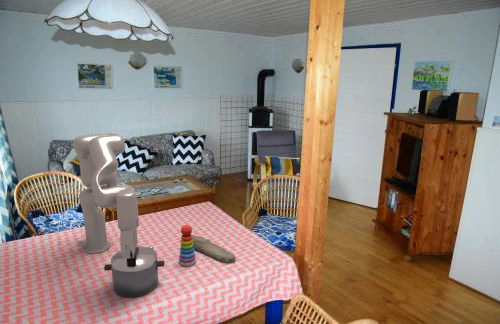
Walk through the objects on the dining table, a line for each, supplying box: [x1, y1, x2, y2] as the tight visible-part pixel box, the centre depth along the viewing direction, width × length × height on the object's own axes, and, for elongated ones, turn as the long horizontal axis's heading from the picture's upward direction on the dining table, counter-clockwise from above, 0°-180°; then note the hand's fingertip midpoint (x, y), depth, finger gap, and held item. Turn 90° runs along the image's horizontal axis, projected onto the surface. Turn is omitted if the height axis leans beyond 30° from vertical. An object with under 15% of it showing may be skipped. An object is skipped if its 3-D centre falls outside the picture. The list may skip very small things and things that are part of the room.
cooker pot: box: [103, 246, 165, 299], centre depth 147 cm, size 24×19×12 cm
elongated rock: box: [191, 234, 236, 264], centre depth 176 cm, size 35×5×10 cm
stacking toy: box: [178, 224, 197, 267], centre depth 163 cm, size 8×8×19 cm
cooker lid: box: [110, 244, 158, 273], centre depth 144 cm, size 18×18×4 cm
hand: (131, 265), depth 138 cm, fingers closed
